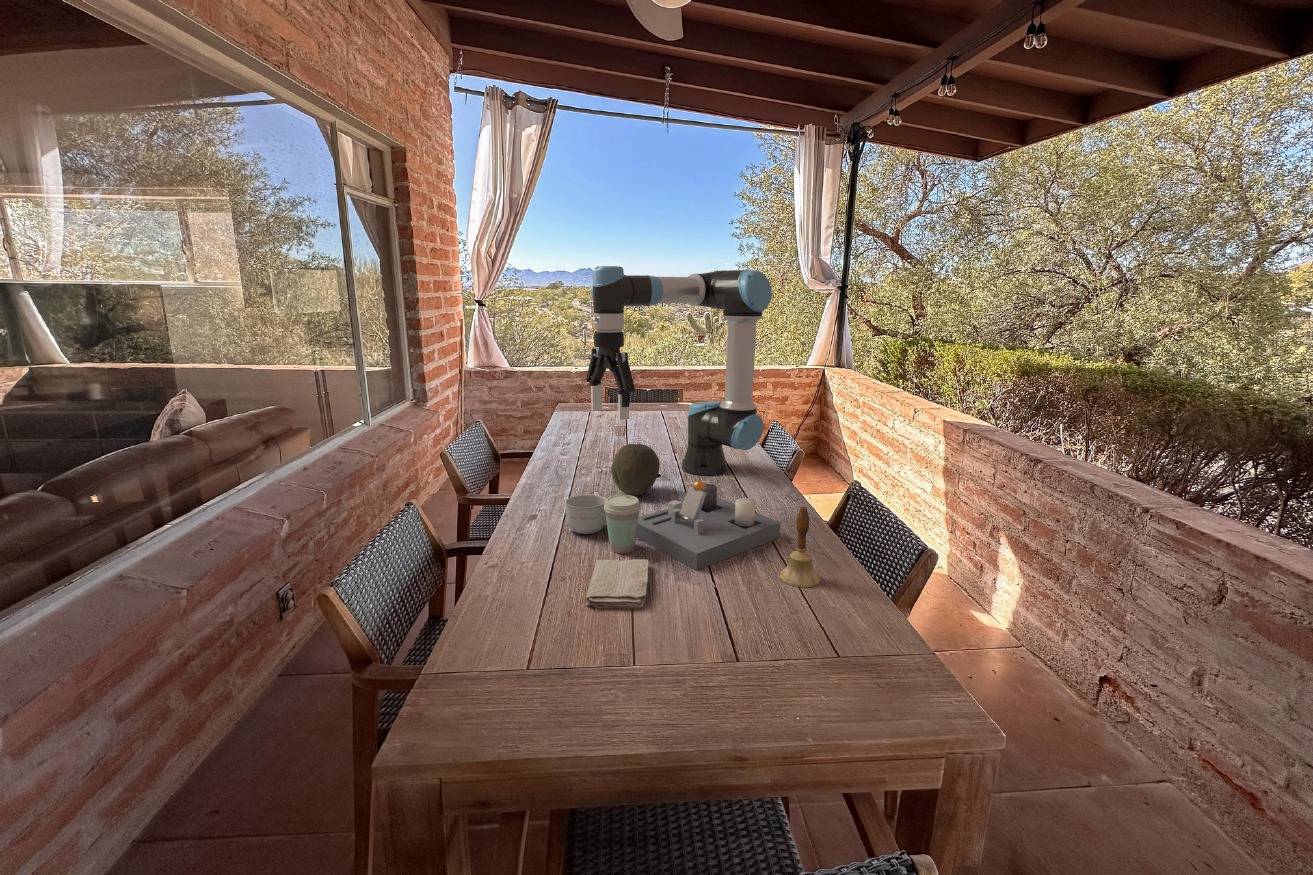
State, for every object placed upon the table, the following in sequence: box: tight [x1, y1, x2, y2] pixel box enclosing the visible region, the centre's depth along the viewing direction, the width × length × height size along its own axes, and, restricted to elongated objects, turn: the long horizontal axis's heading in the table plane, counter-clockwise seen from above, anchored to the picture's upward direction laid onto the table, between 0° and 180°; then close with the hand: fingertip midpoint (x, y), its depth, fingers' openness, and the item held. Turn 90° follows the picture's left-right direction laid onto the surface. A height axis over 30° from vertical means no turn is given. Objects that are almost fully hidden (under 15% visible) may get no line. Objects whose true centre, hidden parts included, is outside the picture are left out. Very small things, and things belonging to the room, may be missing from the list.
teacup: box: [564, 494, 608, 535], centre depth 145 cm, size 14×11×8 cm
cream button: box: [734, 497, 756, 527], centre depth 141 cm, size 5×5×6 cm
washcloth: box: [585, 558, 649, 609], centre depth 119 cm, size 12×18×3 cm, turn 0°
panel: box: [636, 497, 782, 571], centre depth 142 cm, size 28×24×7 cm
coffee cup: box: [604, 494, 642, 554], centre depth 135 cm, size 9×8×12 cm
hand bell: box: [779, 506, 821, 589], centre depth 121 cm, size 8×8×16 cm
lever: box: [677, 480, 706, 525], centre depth 138 cm, size 3×6×10 cm, turn 40°
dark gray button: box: [701, 483, 718, 511], centre depth 151 cm, size 5×5×6 cm
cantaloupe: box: [611, 443, 661, 497], centre depth 171 cm, size 14×14×15 cm
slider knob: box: [667, 500, 683, 515], centre depth 146 cm, size 2×2×3 cm
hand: (609, 414), depth 149 cm, fingers open, 13 cm apart
